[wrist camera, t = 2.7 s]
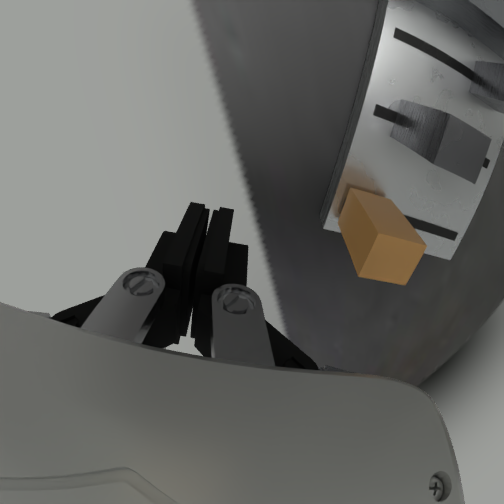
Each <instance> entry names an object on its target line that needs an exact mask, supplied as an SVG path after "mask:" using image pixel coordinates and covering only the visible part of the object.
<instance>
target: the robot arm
mask: <svg viewBox="0 0 504 504" xmlns="http://www.w3.org/2000/svg"><path fill="white" fill-rule="evenodd" d="M209 211H210V210H209V209H206V208H205V205H204V204H199V203H193V202H191V203H190V205H189V207H188V209H187V211H186V213H185V215H184V217H183V219H182V221H181V224H180V226H179V228H178V230H177V232H176V233H173V232H168V231H164V232H163V233H162V235H161V237H160V239H159V241H158V243H157V245H156V247H155V249H154V251H153V253H152V255H151V257H150V259H149V261H148V263H147V265H146V267H143V268H133V269H130V270H128V271H126V272H124V273H123V274H122V275H121V276H120V277H119V278H118V280H117V281H116V282H115V283H114V284H113V286H112V287H111V288H110V290H109V291H108V292H107V293H106V295H104V296H101V297H98V298H95V299H93V300H90V301H87V302H85V303H82V304H79V305H77V306H74V307H71V308H68V309H66V310H63V311H61V312H59V313H57V314H55V315H54V316H53V317H50V314H49V313H41V312H31V311H25V310H22V309H19V308H16V307H13V306H10V305H7V304H4V303H1V302H0V504H465V502H464V495H463V490H462V484H461V478H460V474H459V469H458V464H457V460H456V456H455V453H454V449H453V446H452V442H451V439H450V436H449V433H448V430H447V427H446V425H445V422H444V420H443V417H442V415H441V413H440V411H439V409H438V407H437V405H436V404H435V402H434V401H433V399H432V398H431V397H430V396H429V395H428V394H427V393H426V392H424V391H423V390H421V389H419V388H417V387H415V386H413V385H411V384H408V383H405V382H403V381H400V380H396V379H392V378H387V377H383V376H377V375H370V374H359V373H354V372H350V371H346V370H342V369H338V368H334V367H330V366H326V365H325V366H324V368H320V367H317V365H316V363H315V362H314V361H313V360H312V359H311V358H310V357H309V356H307V355H306V354H305V353H304V352H303V351H301V350H300V349H299V348H298V347H297V346H295V345H294V344H293V343H292V342H291V341H290V340H288V339H287V338H286V337H285V336H284V335H282V334H281V333H280V332H279V331H278V330H277V329H275V328H274V327H273V326H272V325H271V324H270V323H268V322H267V321H266V320H265V317H264V313H263V308H262V304H261V300H260V298H259V296H258V295H257V294H256V293H255V292H254V291H253V290H252V289H250V288H248V287H246V284H247V265H248V245H242V244H237V243H231V242H229V237H230V231H231V225H232V218H233V212H234V210H233V209H228V208H222V207H220V209H219V211H218V210H214V211H213V214H212V218H211V221H210V224H209V228H208V231H207V225H208V218H209ZM206 233H207V235H206ZM192 308H193V312H192ZM191 312H192V324H191V338H195V344H194V346H195V347H196V348H197V350H198V351H200V353H201V354H202V355H203V356H198V355H192V354H187V353H182V352H176V351H171V350H166V347H167V346H169V345H171V344H173V343H174V344H179V340H180V336H186V334H187V330H188V325H189V321H190V316H191Z"/></svg>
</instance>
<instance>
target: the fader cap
mask: <svg viewBox="0 0 504 504" xmlns="http://www.w3.org/2000/svg"><path fill="white" fill-rule="evenodd" d="M338 226H339V228H340V231H341V233H342V236H343V238H344V241H345V243H346V246H347V248H348V251H349V253H350V256H351V259H352V261H353V264H354V267H355V270H356V272H357V275H358V277H363V278H368V279H374V280H379V281H384V282H390V283H395V284H401V285H406V283H407V282H408V280H409V278H410V277H411V275H412V273H413V271H414V269H415V268H416V266H417V264H418V262H419V261H420V259H421V257H422V255H423V253H424V251H425V249H426V247H427V245H426V244H425V242H424V241H423V240H422V238H421V237H420V236H419V234H418V233H417V232H416V230H415V229H414V228H413V226H412V225H411V224H410V223H409V221H408V220H407V219H406V217H405V216H404V215H403V214H402V212H401V211H400V210H399V209H398V207H397V206H396V205H395V204H394V203H393V201H392V200H391V199H388V198H385V197H381V196H378V195H375V194H371V193H368V192H365V191H361V190H358V189H354V188H351V187H350V190H349V192H348V195H347V198H346V201H345V204H344V206H343V209H342V212H341V215H340V217H339V220H338Z"/></svg>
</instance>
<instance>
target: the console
mask: <svg viewBox="0 0 504 504" xmlns="http://www.w3.org/2000/svg"><path fill="white" fill-rule="evenodd" d="M503 140H504V0H379V3H378V8H377V12H376V17H375V22H374V26H373V30H372V35H371V39H370V43H369V47H368V51H367V55H366V59H365V63H364V67H363V71H362V75H361V79H360V83H359V86H358V90H357V94H356V98H355V101H354V105H353V108H352V112H351V115H350V119H349V122H348V126H347V129H346V133H345V136H344V139H343V143H342V146H341V149H340V153H339V156H338V159H337V162H336V165H335V169H334V172H333V175H332V178H331V181H330V184H329V187H328V190H327V194H326V197H325V200H324V203H323V206H322V209H321V212H320V214H319V217H320V220H321V223H322V226H323V229H327V230H331V231H335V232H340V233H341V231H340V228H339V226H338V220H339V217H340V215H341V212H342V209H343V206H344V204H345V201H346V198H347V195H348V192H349V190H350V187H351V188H354V189H358V190H361V191H365V192H368V193H371V194H375V195H378V196H381V197H385V198H388V199H391V200H392V201H393V203H394V204H395V205H396V206H397V207H398V209H399V210H400V211H401V212H402V214H403V215H404V216H405V217H406V219H407V220H408V221H409V223H410V224H411V225H412V226H413V228H414V229H415V230H416V232H417V233H418V234H419V236H420V237H421V238H422V240H423V241H424V242H425V244H426V245H427V247H426V249H425V251H424V253H425V254H429V255H433V256H437V257H440V258H444V259H448V260H451V258H452V256H453V254H454V252H455V251H456V249H457V247H458V245H459V243H460V241H461V239H462V238H463V236H464V234H465V232H466V230H467V228H468V226H469V224H470V222H471V220H472V218H473V215H474V213H475V211H476V209H477V207H478V205H479V202H480V200H481V198H482V196H483V193H484V191H485V189H486V186H487V184H488V181H489V179H490V176H491V174H492V171H493V168H494V166H495V163H496V160H497V158H498V155H499V152H500V149H501V146H502V143H503Z"/></svg>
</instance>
